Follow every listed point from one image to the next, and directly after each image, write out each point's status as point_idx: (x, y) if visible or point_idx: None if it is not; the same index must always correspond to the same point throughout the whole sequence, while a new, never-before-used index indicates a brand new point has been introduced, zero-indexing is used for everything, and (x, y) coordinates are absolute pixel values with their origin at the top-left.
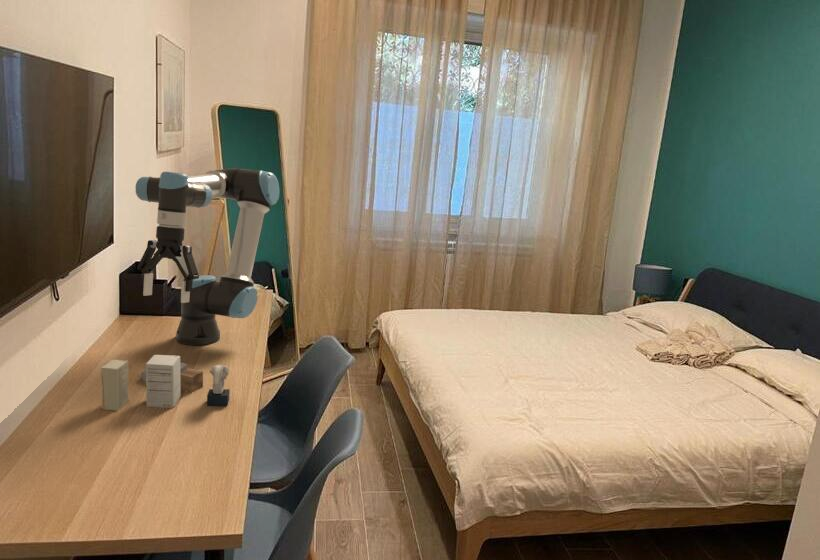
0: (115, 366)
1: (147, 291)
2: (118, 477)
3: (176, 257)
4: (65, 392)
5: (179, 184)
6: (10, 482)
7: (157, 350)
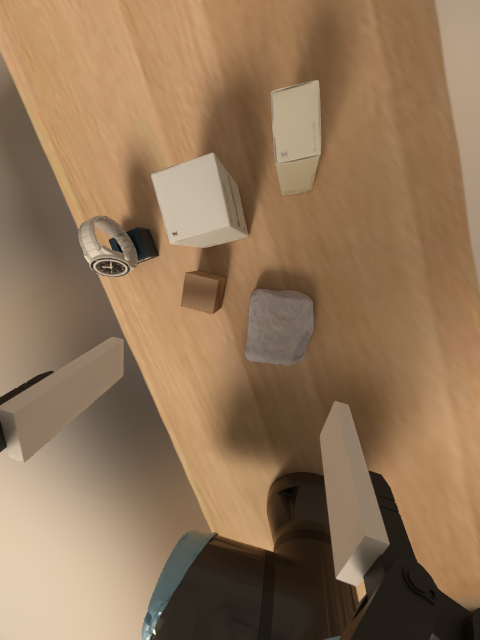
0: (284, 108)
1: (332, 428)
2: None
3: None
4: (432, 189)
5: None
6: None
7: None
